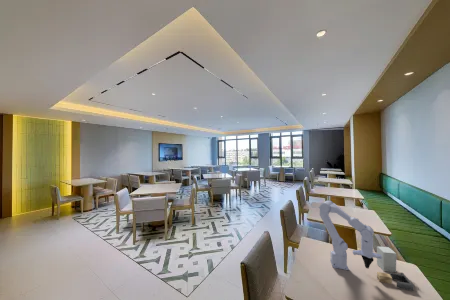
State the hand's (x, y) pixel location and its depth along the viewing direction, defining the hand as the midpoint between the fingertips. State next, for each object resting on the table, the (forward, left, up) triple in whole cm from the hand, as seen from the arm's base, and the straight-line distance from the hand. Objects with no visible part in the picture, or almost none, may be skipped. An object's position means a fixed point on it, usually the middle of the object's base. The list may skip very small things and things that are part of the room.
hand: (366, 267), depth 111 cm
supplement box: (+15, +14, -7) cm, 22 cm away
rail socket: (+17, +1, -7) cm, 18 cm away
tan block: (+9, 0, -7) cm, 11 cm away
